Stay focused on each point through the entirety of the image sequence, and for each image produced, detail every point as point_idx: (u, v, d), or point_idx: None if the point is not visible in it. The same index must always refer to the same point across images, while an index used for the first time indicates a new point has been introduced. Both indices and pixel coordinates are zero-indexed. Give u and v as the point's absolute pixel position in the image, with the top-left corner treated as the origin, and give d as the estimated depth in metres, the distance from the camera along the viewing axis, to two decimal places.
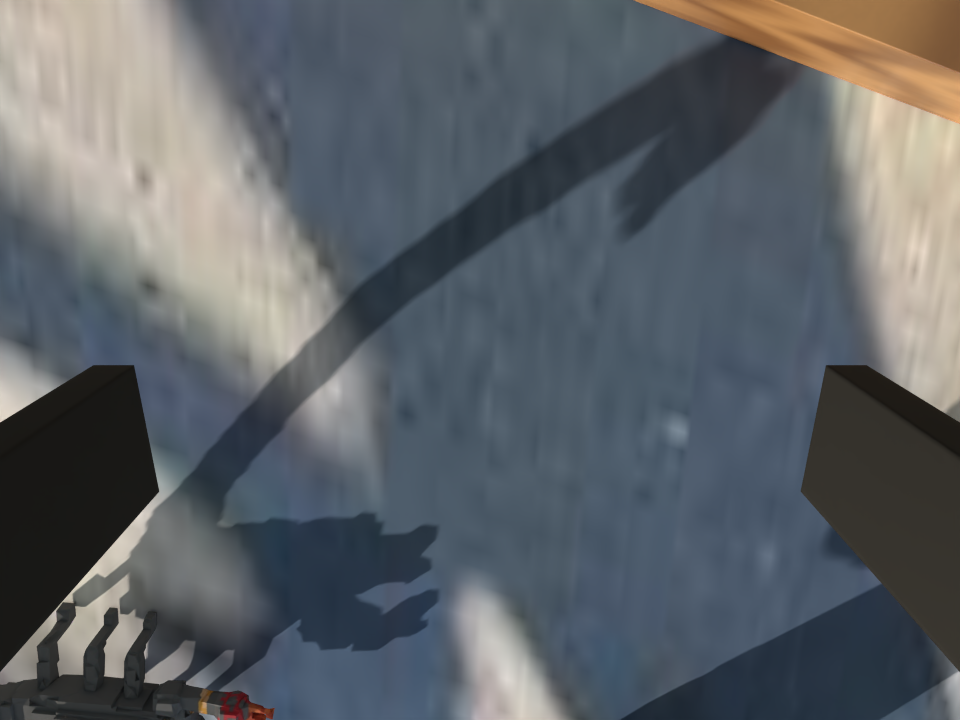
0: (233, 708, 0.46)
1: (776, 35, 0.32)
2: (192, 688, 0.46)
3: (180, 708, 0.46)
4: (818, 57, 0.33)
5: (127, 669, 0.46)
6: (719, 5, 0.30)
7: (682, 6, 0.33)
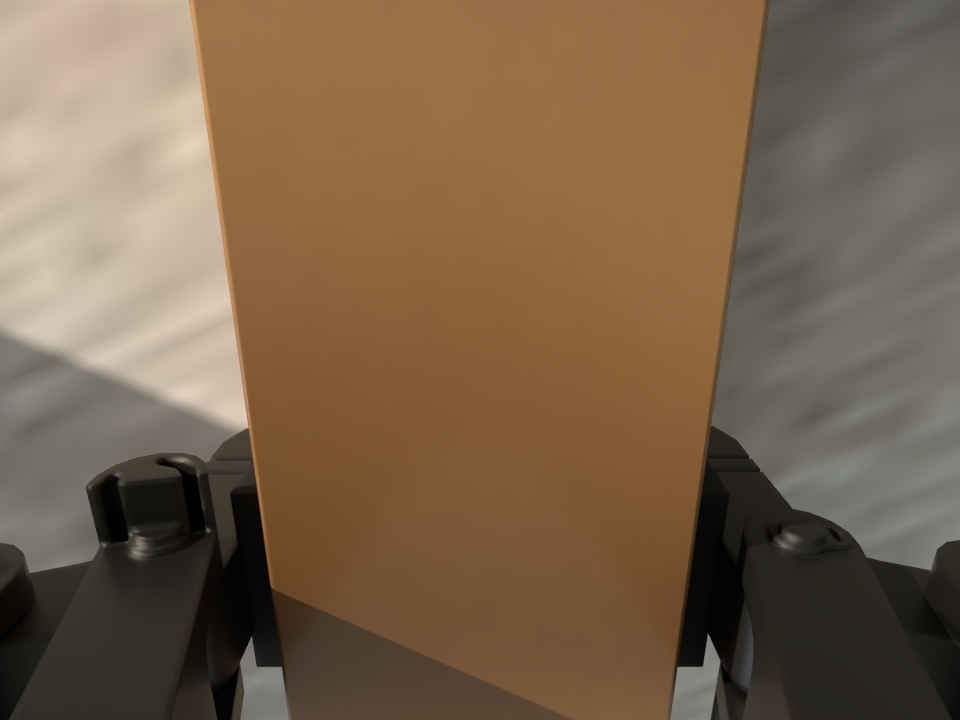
0: None
1: None
2: None
3: None
4: None
5: None
6: None
7: None
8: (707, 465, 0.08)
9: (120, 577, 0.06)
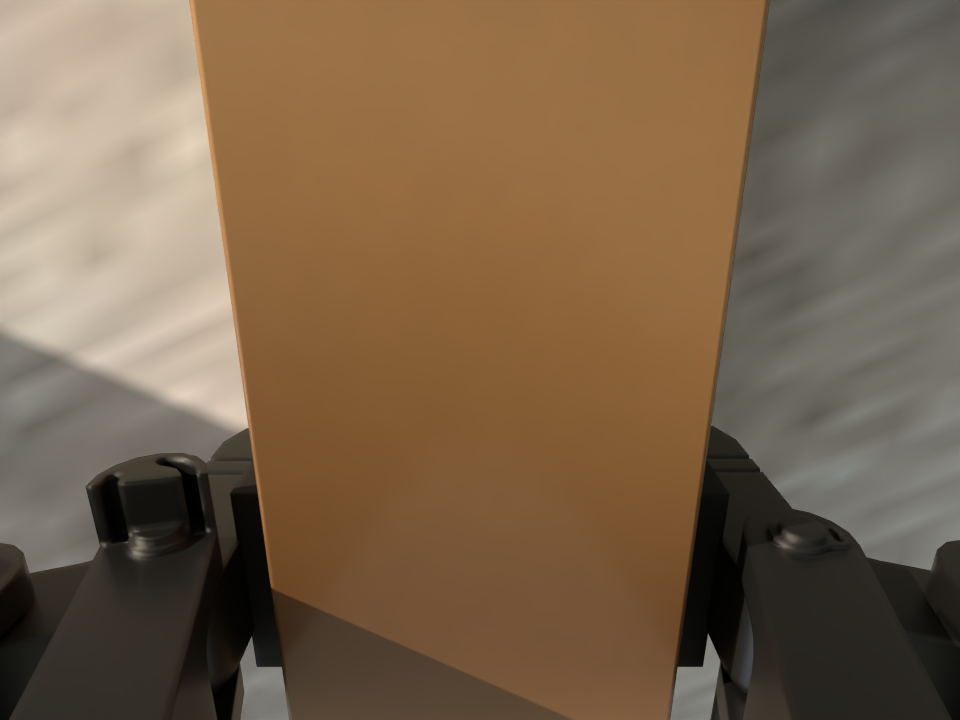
0: None
1: None
2: None
3: None
4: None
5: None
6: None
7: None
8: (707, 465, 0.08)
9: (120, 577, 0.06)
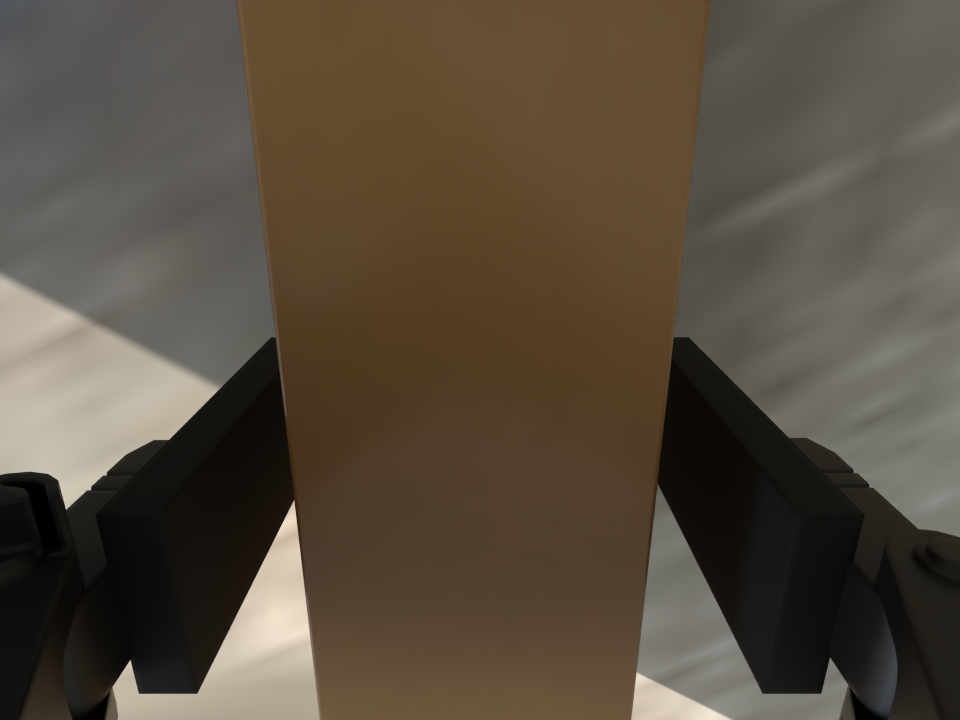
0: None
1: None
2: None
3: None
4: None
5: None
6: None
7: None
8: (830, 483, 0.08)
9: None
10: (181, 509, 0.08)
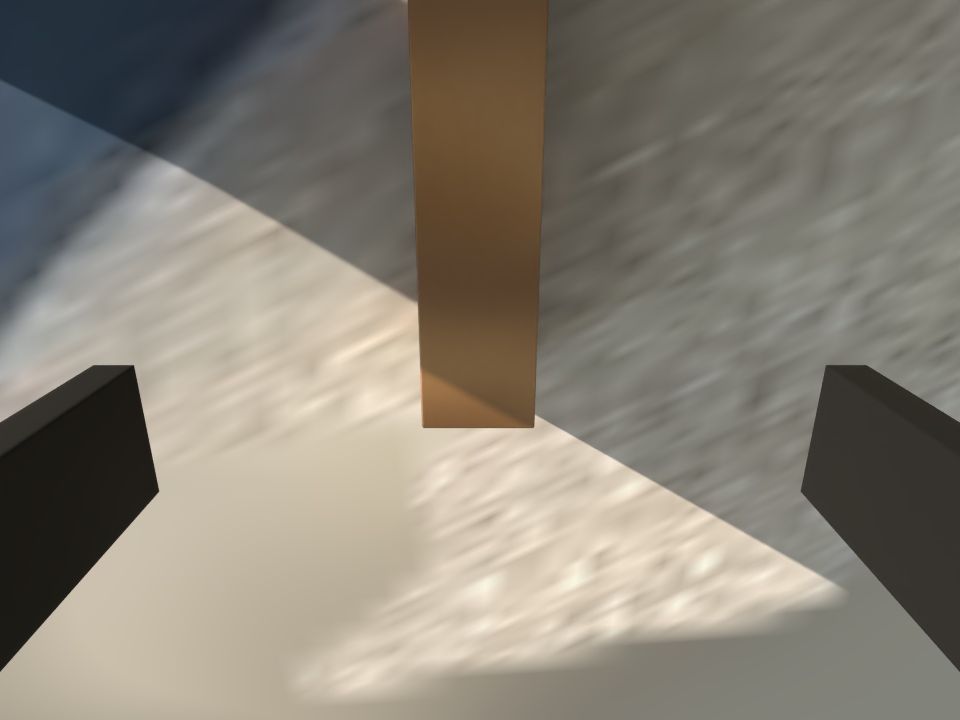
0: None
1: None
2: None
3: None
4: None
5: None
6: None
7: None
8: None
9: None
10: None
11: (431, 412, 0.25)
